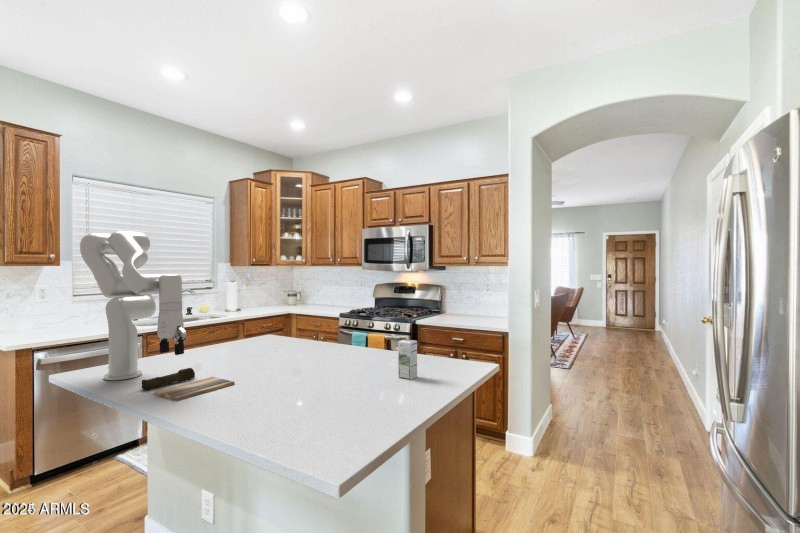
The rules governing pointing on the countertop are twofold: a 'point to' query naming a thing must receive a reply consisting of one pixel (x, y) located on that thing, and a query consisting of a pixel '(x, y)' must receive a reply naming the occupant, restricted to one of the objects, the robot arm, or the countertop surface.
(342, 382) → the countertop surface
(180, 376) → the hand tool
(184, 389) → the plywood panel
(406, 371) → the syrup box
